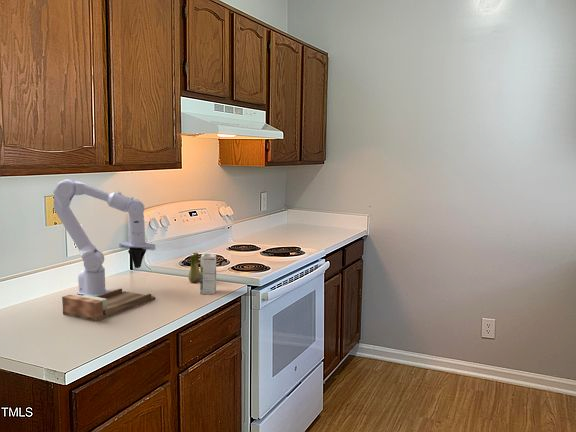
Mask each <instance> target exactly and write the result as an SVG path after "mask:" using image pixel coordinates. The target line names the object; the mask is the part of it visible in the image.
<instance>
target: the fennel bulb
mask: <svg viewBox="0 0 576 432" xmlns="http://www.w3.org/2000/svg"><path fill="white" fill-rule="evenodd" d="M189 257H190V258H189V259H190V269H189V272H188V280H189V282H190V283H200V266H199V253H198V252H193V254H190V256H189Z"/></svg>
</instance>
